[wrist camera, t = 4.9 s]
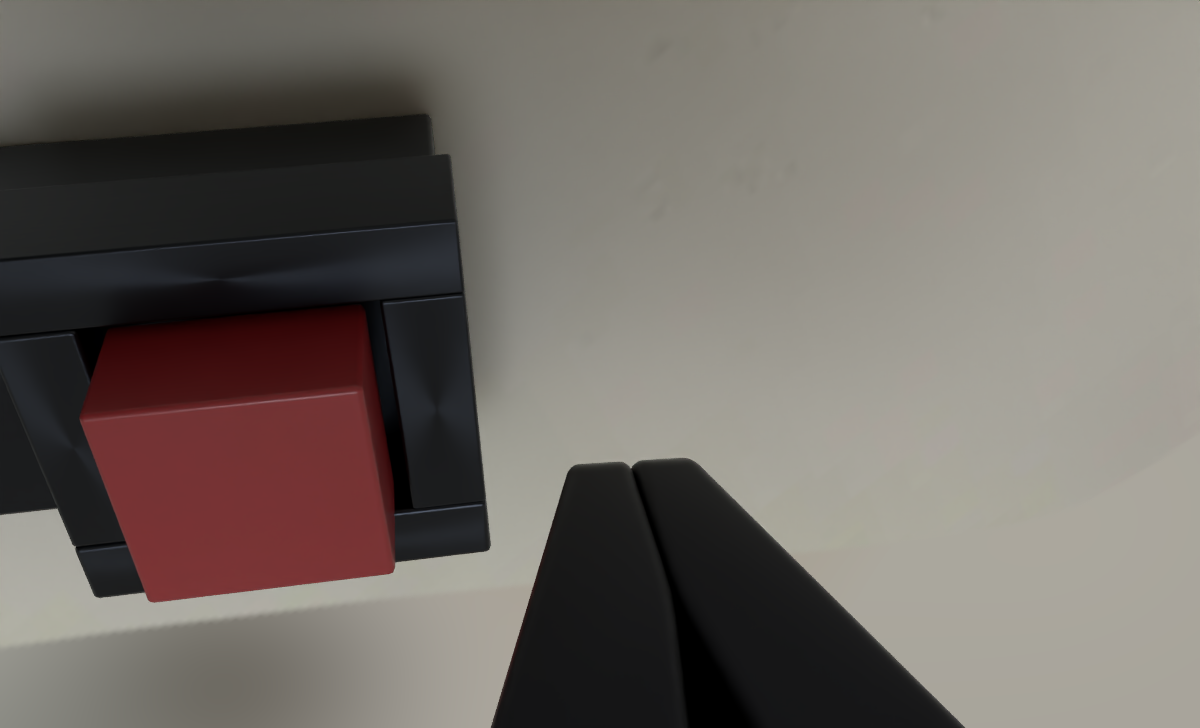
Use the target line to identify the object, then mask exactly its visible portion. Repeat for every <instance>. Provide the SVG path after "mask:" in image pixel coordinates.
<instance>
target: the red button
mask: <svg viewBox="0 0 1200 728" xmlns="http://www.w3.org/2000/svg"><path fill="white" fill-rule="evenodd" d="M79 420H80V422H81V425H82V427H83V430H84V433H85V435H86V438H87V441H88V443H89V446H90V448H91V451H92V454H93V456H94V459H95V462H96V464H97V467H98V470H99V472H100V475H101V477H102V480H103V483H104V485H105V488H106V491H107V493H108V496H109V498H110V501H111V504H112V506H113V509H114V512H115V514H116V517H117V519H118V522H119V525H120V527H121V530H122V533H123V535H124V538H125V541H126V543H127V546H128V548H129V551H130V554H131V556H132V559H133V562H134V564H135V567H136V569H137V572H138V575H139V577H140V580H141V583H142V585H143V588H144V591H145V593H146V596H147V598H148V600H149V601H150V602H154V603H155V602H163V601H171V600H179V599H187V598H196V597H204V596H212V595H220V594H229V593H237V592H245V591H253V590H261V589H270V588H278V587H286V586H294V585H303V584H311V583H319V582H327V581H335V580H344V579H352V578H360V577H368V576H377V575H385V574H390V573H393V571H394V568H395V516H394V479H393V473H392V467H391V461H390V455H389V449H388V443H387V437H386V431H385V425H384V420H383V414H382V408H381V402H380V396H379V390H378V384H377V378H376V372H375V366H374V360H373V354H372V348H371V342H370V336H369V330H368V324H367V318H366V312H365V309H364V307H363V306H362V305H361V304H350V305H340V306H329V307H319V308H308V309H298V310H287V311H277V312H266V313H256V314H245V315H235V316H224V317H214V318H203V319H193V320H182V321H172V322H161V323H151V324H140V325H130V326H119V327H112V328H110V329H108V330H107V332H106V335H105V338H104V342H103V345H102V348H101V351H100V354H99V357H98V360H97V363H96V366H95V369H94V373H93V376H92V379H91V382H90V385H89V388H88V391H87V394H86V397H85V400H84V404H83V407H82V410H81V413H80V417H79Z"/></svg>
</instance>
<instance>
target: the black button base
mask: <svg viewBox="0 0 1200 728" xmlns="http://www.w3.org/2000/svg"><path fill="white" fill-rule="evenodd" d="M350 304H361V305H362V306H363V307H364V309H365V312H366V318H367V324H368V330H369V336H370V342H371V348H372V354H373V360H374V366H375V372H376V378H377V384H378V390H379V396H380V402H381V408H382V414H383V420H384V425H385V431H386V437H387V443H388V449H389V455H390V461H391V467H392V473H393V479H394V516H395V562H401V561H410V560H418V559H426V558H434V557H443V556H451V555H459V554H468V553H476V552H484V551H488V550H489V548H490V546H491V542H490V533H489V523H488V513H487V503H486V493H485V484H484V474H483V464H482V454H481V444H480V435H479V425H478V415H477V405H476V395H475V386H474V376H473V366H472V356H471V347H470V337H469V327H468V317H467V307H466V298H465V288H464V278H463V268H462V258H461V249H460V239H459V229H458V219H457V210H456V200H455V191H454V182H453V172H452V163H451V156H450V155H449V154H441V155H435V148H434V139H433V130H432V121H431V118H430V116H429V115H427V114H422V115H409V116H396V117H383V118H370V119H357V120H344V121H331V122H318V123H305V124H292V125H279V126H267V127H254V128H241V129H228V130H215V131H202V132H189V133H176V134H163V135H150V136H137V137H124V138H112V139H99V140H86V141H73V142H60V143H47V144H34V145H21V146H8V147H0V515H4V514H13V513H22V512H31V511H40V510H49V509H58V511H59V513H60V515H61V518H62V520H63V523H64V525H65V527H66V530H67V532H68V534H69V537H70V539H71V542H72V544H73V545H74V546H76V549H75V550H76V553H77V556H78V558H79V560H80V563H81V565H82V567H83V570H84V572H85V575H86V577H87V579H88V582H89V584H90V586H91V589H92V591H93V594H94V596H95V597H98V598H103V597H111V596H119V595H127V594H136V593H144V592H145V591H144V588H143V585H142V583H141V580H140V577H139V575H138V572H137V569H136V567H135V564H134V562H133V559H132V556H131V554H130V551H129V548H128V546H127V543H126V541H125V538H124V535H123V533H122V530H121V527H120V525H119V522H118V519H117V517H116V514H115V512H114V509H113V506H112V504H111V501H110V498H109V496H108V493H107V491H106V488H105V485H104V483H103V480H102V477H101V475H100V472H99V470H98V467H97V464H96V462H95V459H94V456H93V454H92V451H91V448H90V446H89V443H88V441H87V438H86V435H85V433H84V430H83V427H82V425H81V422H80V420H79V417H80V413H81V410H82V407H83V404H84V400H85V397H86V394H87V391H88V388H89V385H90V382H91V379H92V376H93V373H94V369H95V366H96V363H97V360H98V357H99V354H100V351H101V348H102V345H103V342H104V338H105V335H106V332H107V330H108V329H110V328H112V327H119V326H130V325H140V324H151V323H161V322H172V321H182V320H193V319H203V318H214V317H224V316H235V315H245V314H256V313H266V312H277V311H287V310H298V309H308V308H319V307H329V306H340V305H350Z"/></svg>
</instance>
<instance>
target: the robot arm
mask: <svg viewBox="0 0 1200 728" xmlns="http://www.w3.org/2000/svg"><path fill="white" fill-rule="evenodd" d="M491 728H965V727H964V726H963V725H962V724H961V723H960V722H959V721H958V720H957V719H956V718H955V717H954V716H953V715H952V714H951V713H950V712H949V711H948V710H947V709H946V708H945V707H944V706H943V705H942V704H941V703H940V702H939V701H938V700H937V699H936V698H935V697H934V696H932V694H930V693H929V692H928V691H927V690H926V689H925V688H924V687H923V686H922V685H921V684H920V683H919V682H918V681H917V680H916V679H915V678H914V677H913V676H912V675H911V674H910V673H909V672H908V671H907V670H906V669H905V668H904V667H903V666H902V665H901V664H900V663H899V662H898V661H897V660H896V659H895V658H894V657H893V656H892V655H891V654H890V653H889V652H888V651H887V650H886V649H885V648H884V647H883V646H882V645H881V644H880V643H879V642H878V641H877V640H876V639H875V638H874V637H873V636H872V635H871V634H870V633H869V632H868V631H867V630H866V629H865V628H863V626H862V625H861V624H860V623H859V622H858V621H857V620H856V619H855V618H853V616H852V615H850V614H849V613H848V612H847V611H846V610H845V609H844V608H843V607H842V606H841V605H840V604H839V603H838V602H837V601H836V600H835V599H834V598H833V597H832V596H831V595H830V594H829V593H828V592H827V591H826V590H825V589H824V588H823V587H822V586H821V585H820V584H819V583H818V582H817V581H816V580H815V579H814V578H813V577H812V576H811V575H810V574H809V573H808V572H807V571H806V570H805V569H804V568H803V567H802V566H801V565H800V564H799V563H798V562H797V561H796V560H795V559H794V558H793V557H792V556H791V555H790V554H789V553H788V552H787V551H786V550H785V549H784V548H783V547H782V546H781V545H780V544H779V543H778V542H777V541H776V540H775V539H774V538H773V537H771V536H770V535H769V534H768V533H767V532H766V531H765V530H764V529H763V528H762V527H761V526H760V525H759V524H758V523H757V522H756V521H755V520H754V519H753V518H752V517H751V516H750V515H749V514H748V513H747V512H746V511H745V510H744V509H743V508H742V507H741V506H740V505H739V504H738V503H737V502H736V501H735V500H734V499H733V498H732V497H731V496H730V495H729V494H728V493H727V492H726V491H725V490H724V489H723V488H722V487H721V486H720V485H719V484H718V483H717V482H716V481H715V480H714V479H713V478H712V477H711V476H710V475H709V474H708V473H707V472H706V471H705V470H704V469H703V468H702V467H701V466H700V465H698V464H697V463H696V462H694V461H692V460H690V459H687V458H673V459H656V460H642V461H638V462H637V463H636V464H634V465H633V467H632V469H631V468H630V467H629V466H628V465H627V464H625V463H624V462H608V463H592V464H578V465H575V466H573V467H571V469H570V470H569V471H568V473H567V476H566V479H565V483H564V486H563V489H562V493H561V496H560V499H559V503H558V506H557V509H556V513H555V516H554V519H553V523H552V526H551V529H550V533H549V536H548V539H547V543H546V546H545V549H544V553H543V556H542V559H541V563H540V566H539V569H538V573H537V576H536V579H535V583H534V586H533V589H532V593H531V596H530V599H529V603H528V606H527V609H526V613H525V616H524V619H523V623H522V626H521V629H520V633H519V636H518V639H517V642H516V646H515V649H514V653H513V656H512V659H511V662H510V666H509V669H508V672H507V676H506V679H505V682H504V686H503V689H502V692H501V696H500V699H499V702H498V706H497V709H496V712H495V716H494V719H493V722H492V726H491Z"/></svg>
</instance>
